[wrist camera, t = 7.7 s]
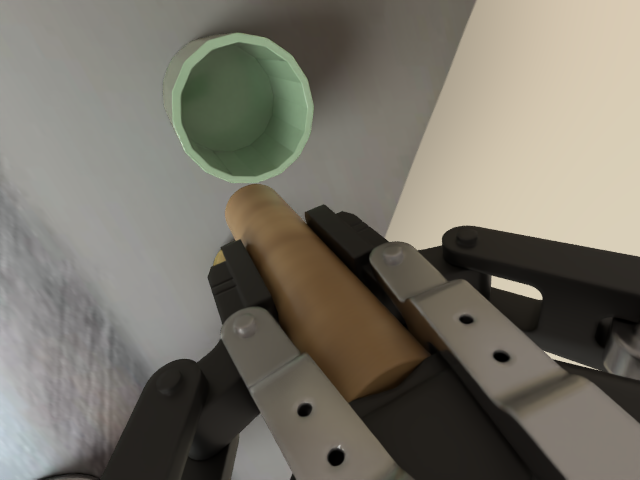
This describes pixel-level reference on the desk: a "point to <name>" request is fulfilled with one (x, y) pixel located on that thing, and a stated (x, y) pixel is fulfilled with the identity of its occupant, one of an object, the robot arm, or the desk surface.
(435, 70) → the desk surface
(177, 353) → the desk surface
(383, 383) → the stick
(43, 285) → the desk surface
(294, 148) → the cup
